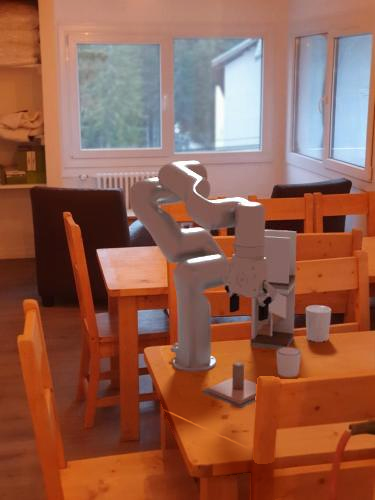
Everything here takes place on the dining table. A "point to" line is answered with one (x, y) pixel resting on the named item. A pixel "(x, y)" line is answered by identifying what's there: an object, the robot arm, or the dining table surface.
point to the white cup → (318, 322)
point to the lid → (236, 386)
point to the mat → (228, 400)
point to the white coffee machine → (283, 280)
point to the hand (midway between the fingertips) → (248, 315)
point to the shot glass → (288, 361)
